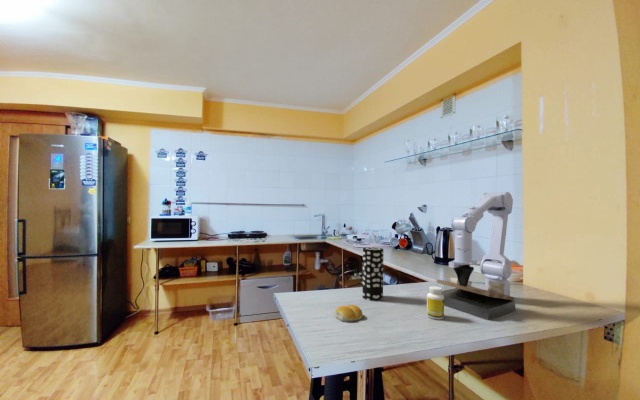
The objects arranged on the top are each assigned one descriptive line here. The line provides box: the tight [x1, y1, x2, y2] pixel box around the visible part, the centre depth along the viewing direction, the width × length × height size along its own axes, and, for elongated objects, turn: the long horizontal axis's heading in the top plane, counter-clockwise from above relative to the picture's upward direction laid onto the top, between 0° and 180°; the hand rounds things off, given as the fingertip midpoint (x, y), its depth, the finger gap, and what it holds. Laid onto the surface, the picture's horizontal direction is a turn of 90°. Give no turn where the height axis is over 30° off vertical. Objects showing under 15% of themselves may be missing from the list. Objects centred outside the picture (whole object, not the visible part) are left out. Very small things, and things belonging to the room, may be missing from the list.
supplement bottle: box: [426, 285, 445, 320], centre depth 95 cm, size 5×5×10 cm
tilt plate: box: [436, 276, 515, 301], centre depth 107 cm, size 17×20×5 cm
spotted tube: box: [361, 247, 384, 302], centre depth 115 cm, size 8×8×20 cm
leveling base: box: [441, 287, 516, 321], centre depth 106 cm, size 18×21×4 cm
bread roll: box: [334, 304, 363, 323], centre depth 94 cm, size 8×9×4 cm
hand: (463, 285), depth 103 cm, fingers closed
